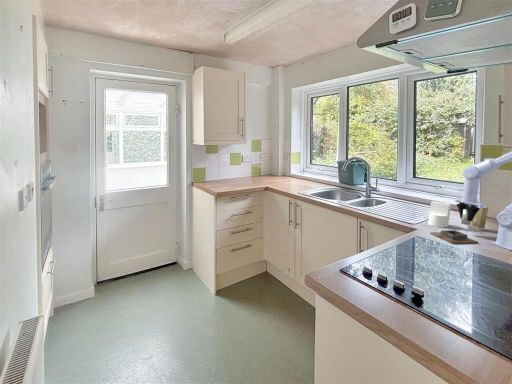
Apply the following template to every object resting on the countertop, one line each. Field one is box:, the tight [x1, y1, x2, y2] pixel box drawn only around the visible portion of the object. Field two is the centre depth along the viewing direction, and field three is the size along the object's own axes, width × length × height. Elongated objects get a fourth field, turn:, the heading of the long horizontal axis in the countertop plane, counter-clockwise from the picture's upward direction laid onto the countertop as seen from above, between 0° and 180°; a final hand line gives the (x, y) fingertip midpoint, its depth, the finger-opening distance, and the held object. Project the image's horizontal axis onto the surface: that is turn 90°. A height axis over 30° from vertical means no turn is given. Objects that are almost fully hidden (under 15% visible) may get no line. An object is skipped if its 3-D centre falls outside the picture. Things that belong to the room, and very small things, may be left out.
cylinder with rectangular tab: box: [428, 200, 452, 228], centre depth 159 cm, size 9×9×12 cm
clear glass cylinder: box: [460, 209, 471, 226], centre depth 144 cm, size 4×4×7 cm
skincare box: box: [466, 205, 489, 232], centre depth 153 cm, size 6×4×12 cm
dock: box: [430, 229, 479, 245], centre depth 138 cm, size 14×12×3 cm
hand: (466, 219), depth 144 cm, fingers closed on clear glass cylinder, 4 cm apart
